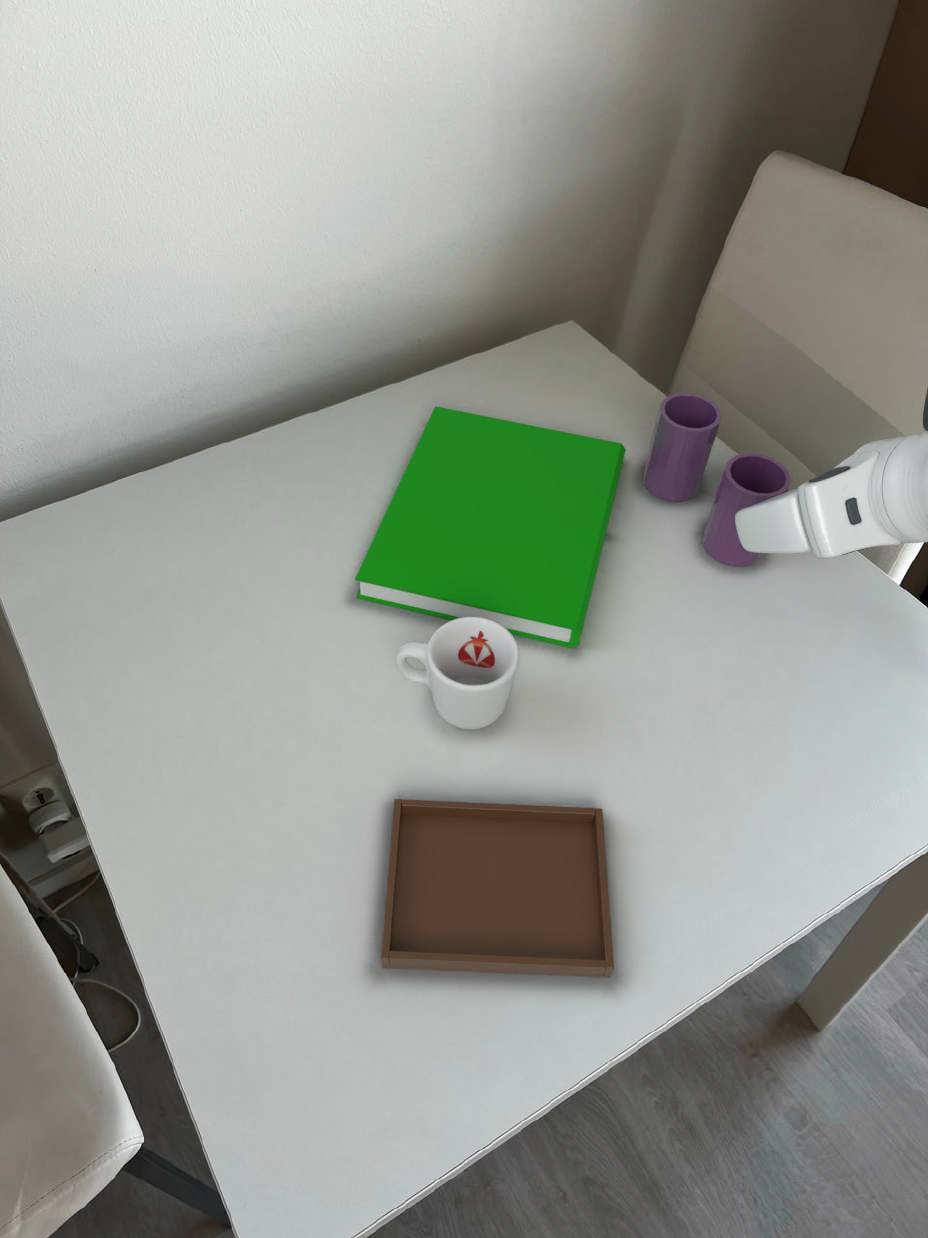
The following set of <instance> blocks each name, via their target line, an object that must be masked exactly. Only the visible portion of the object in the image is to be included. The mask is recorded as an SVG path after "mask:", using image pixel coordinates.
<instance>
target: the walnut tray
mask: <svg viewBox="0 0 928 1238" xmlns="http://www.w3.org/2000/svg"><path fill="white" fill-rule="evenodd" d="M393 800H394V801H393V813H392V821H391V822H392V823H391V837H390V845H389V860H388V871H387V883H386V892H385V893H386V895H385V904H384V905H385V906H384V919H383V930H382V942H381V952H380V963H381V964H380V965H381V968H382V969H401V970H402V969H404V970H422V971H423V970H424V971H426V970H427V971H449V972H472V973H490V974H491V973H493V974H516V975H517V974H518V975H536V976H537V975H540V976H541V975H542V976H565V977H586V978H606V979H607V978H611V975H612V973H613V970H615V962H614V950H613V949H614V948H613V937H612V935H613V934H612V923H611V922H612V921H611V909H610V908H611V907H610V895H609V880H608V866H607V865H608V864H607V852H606V840H605V826H604V812H603V811H604V810H603V808H602V807H596V808H595V807H577V806H558V805H557V806H556V805H555V806H554V805H535V804H533V805H532V804H513V803H511V804H510V803H494V802H493V803H490V802H489V803H488V802H469V801H449V800H448V801H445V800H423V799H406V798H405V799H401V798H395V799H393Z"/></svg>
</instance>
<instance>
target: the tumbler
mask: <svg viewBox="0 0 928 1238" xmlns="http://www.w3.org/2000/svg"><path fill="white" fill-rule="evenodd" d="M721 421H722V412H721V409H720V407H719V406H718V405H717V404H716V403H715V402H714V401H713V400H711V399H709V398H707V396H703V395H701V394H698V393H697V394H696V393H693V392H678V393H673V394H670V395H668V396H666V397H665V398H664V399H663V400H662V401H661V403H660V405H659V408H658V413H657V417H656V420H655V425H654V428H653V432H652V436H651V441H650V444H649V449H648V452H647V457H646V461H645V464H644V465H645V466H644V470H643V475H642V482H643V485H644V487H645V489H646V490H647V491H648V493H650V495H653V496H654V497H656V498H658V499H660V500H662V501H667V502H671V503H672V502H673V503H674V502H675V503H676V502H677V503H678V502H679V503H680V502H685V501H689V500H691V499H692V498H694V497H695V496H696V495H697V494H698V493H699V490H700V487H701V485H702V482H703V479H704V475H705V472H706V469H707V466H708V462H709V461H710V460H709V459H710V456H711V453H712V450H713V447H714V443H715V441H716V437H717V434H718V430H719V427H720V424H721Z"/></svg>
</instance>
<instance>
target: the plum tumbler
mask: <svg viewBox="0 0 928 1238" xmlns="http://www.w3.org/2000/svg"><path fill="white" fill-rule="evenodd" d="M791 483H792V479H791V474H790V471H789V470H788V469H787V468H786V467H785V466H784V465H783V463H781V462H780V461H778V460H776V459H774V458H773V457H771V456H768V455H765V454H761V453H755V452H753V453H752V452H745V453H741V454H736V455H734V456H733V457H731V458H730V459H729V460H728V461H727V462H726V465H725V467H724V470H723V473H722V475H721V479H720V483H719V486H718V488H717V491H716V495H715V498H714V501H713V503H712V506H711V509H710V512H709V516H708V518H707V522H706V525H705V527H704V531H703V533H702V539H701V542H702V546H703V549H704V550H705V552H706V553H707V555H709V556H710V557H711V558H712V559H713V560H715V561H717V562H718V563H720V564H722V565H726V566H730V567H736V568H737V567H739V568H740V567H741V568H742V567H747V566H751V565H753V564H755V563H756V562H758V560H759V559H760V558H761V556H762V555H763V553H755V552H749V551H747V550H745V549H744V548H743V546H742V544H741V542H740V539H739V536H738V533H737V528H736V523H735V514H736V513H737V512H738V511H739V510H741V509H744V508H747V507H750V506H752V505H755V504H758V503H760V502H763V501H765V500H768V499H770V498H773V497H776V496H778V495H781V494H783V493H786V492H788V491H789V489H790V485H791Z"/></svg>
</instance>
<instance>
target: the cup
mask: <svg viewBox="0 0 928 1238" xmlns="http://www.w3.org/2000/svg"><path fill="white" fill-rule="evenodd" d="M520 654H521V653H520V648H519V644H518V642H517V640H516V639H515V637H514V635H513V634H511V633H510V632H509V631H508V630H507V629H506V628H504V627H503V626H502V625H500V624H498V623H496V622H494V621H492V620H489V619H486V618H481V617H463V618H458V619H454V620H449V621H447V622H445V623H444V624H442V625H440V626H439V627H438V628H437V629H436V630H435V631H434V633H433V634H431V637H430V638H429V641H428V642H426V643H425V642H418V641H411V642H410V641H409V642H406V643H404V644H402V645H401V646H400V648H398V651H397V655H396V659H395V662H396V667H397V670H398V672H399V674H400V675H401V676H402V677H403V678H404V679H406V680H408V681H410V682H412V683H416V684H421V685H424V686H428V687H429V688H430V691H431V696H432V701H433V705H434V707H435V709H436V712H437V713H438V715H439V716H440V717H441V719H443V720H444V721H445V722H447V723H448V724H449V725H451V726H453V727H455V728H458V729H461V730H471V731H472V730H479V729H483V728H486V727H488V726H489V725H491V724H493V723H495V721H496V720H498V719H499V717H500V716H501V715H502V714H503V712H504V710H505V708H506V706H507V703H508V700H509V696H510V694H511V691H512V688H513V685H514V680H515V678H516V674H517V671H518V668H519V666H520V658H521V657H520ZM408 658H413V659H418V660H419V661H420V662H421V663H423V665H424V667H425V668H424V669H419V668H416V667H414V666H412V665H411V664H410V663H409V661H408Z"/></svg>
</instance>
